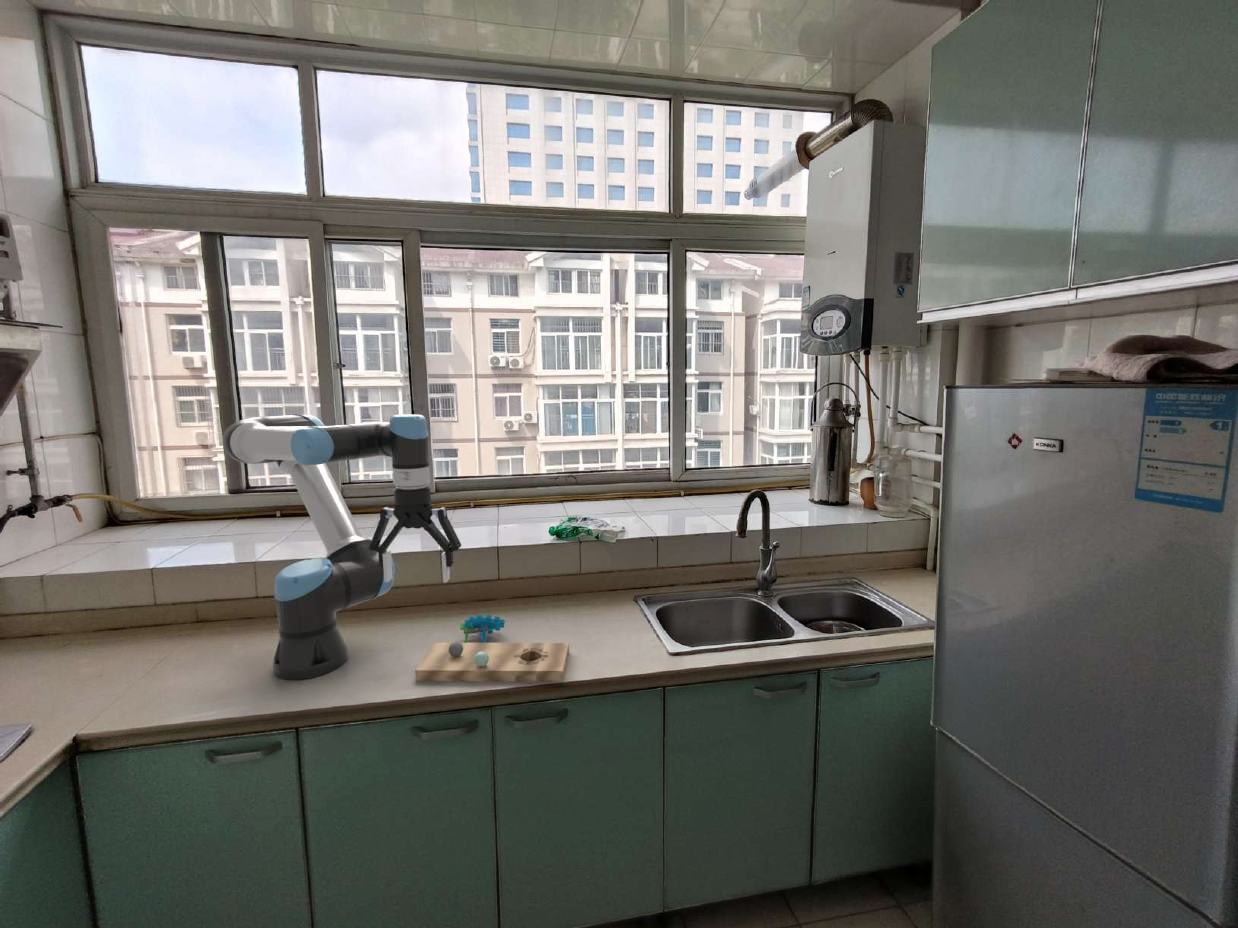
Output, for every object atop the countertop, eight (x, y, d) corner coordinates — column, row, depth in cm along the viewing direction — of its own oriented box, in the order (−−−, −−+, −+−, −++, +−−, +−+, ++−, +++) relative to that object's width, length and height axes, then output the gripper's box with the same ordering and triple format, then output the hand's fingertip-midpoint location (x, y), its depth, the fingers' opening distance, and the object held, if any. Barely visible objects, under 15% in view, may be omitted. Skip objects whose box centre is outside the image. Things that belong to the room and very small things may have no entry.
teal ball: (472, 669, 125) (471, 655, 124) (476, 662, 128) (475, 648, 127) (487, 669, 124) (486, 655, 124) (490, 662, 128) (490, 648, 127)
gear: (510, 624, 149) (498, 610, 141) (508, 647, 145) (496, 633, 137) (468, 629, 150) (454, 615, 142) (466, 652, 146) (452, 638, 138)
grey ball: (447, 659, 129) (446, 645, 129) (451, 652, 132) (450, 639, 132) (461, 659, 129) (460, 645, 129) (465, 652, 132) (464, 639, 132)
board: (415, 680, 125) (415, 670, 124) (435, 652, 138) (435, 642, 137) (562, 681, 124) (562, 670, 124) (569, 652, 137) (569, 642, 137)
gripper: (347, 489, 121) (355, 586, 125) (463, 489, 121) (467, 586, 125) (363, 482, 129) (370, 574, 132) (472, 482, 129) (476, 574, 132)
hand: (417, 580), depth 128 cm, fingers open, 12 cm apart
